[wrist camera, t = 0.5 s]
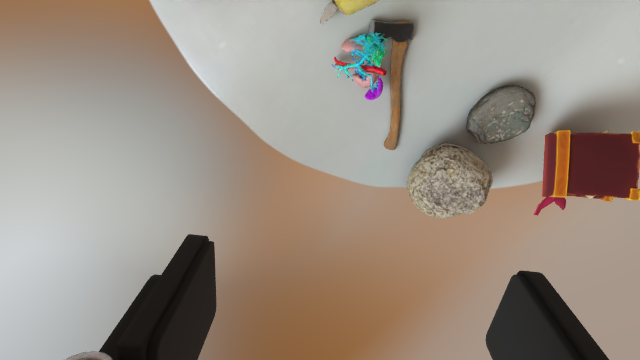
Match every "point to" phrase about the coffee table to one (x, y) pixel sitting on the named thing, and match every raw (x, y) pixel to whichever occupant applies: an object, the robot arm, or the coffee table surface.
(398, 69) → the axe
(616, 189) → the book monster
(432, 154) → the stone
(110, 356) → the robot arm
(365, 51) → the anatomy model
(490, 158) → the coffee table surface
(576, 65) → the coffee table surface
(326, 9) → the fruit
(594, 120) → the coffee table surface
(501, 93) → the stone
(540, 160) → the coffee table surface
